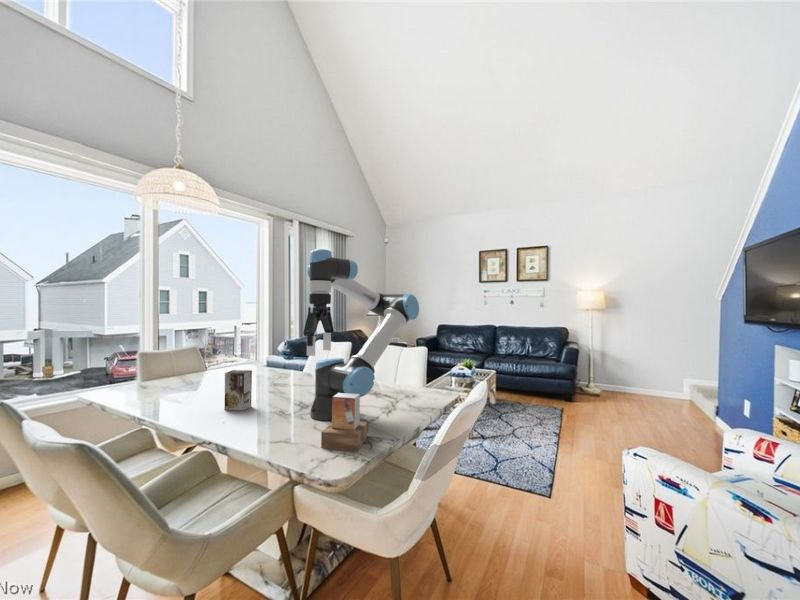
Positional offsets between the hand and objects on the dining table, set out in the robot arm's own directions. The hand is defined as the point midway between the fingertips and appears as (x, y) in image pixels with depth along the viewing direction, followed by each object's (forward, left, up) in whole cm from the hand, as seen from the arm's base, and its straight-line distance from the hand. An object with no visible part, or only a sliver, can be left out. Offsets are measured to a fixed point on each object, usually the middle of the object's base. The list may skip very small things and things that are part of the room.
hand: (319, 352), depth 115 cm
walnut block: (+4, +12, -29) cm, 31 cm away
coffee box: (-19, -46, -29) cm, 58 cm away
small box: (+4, +12, -24) cm, 27 cm away
